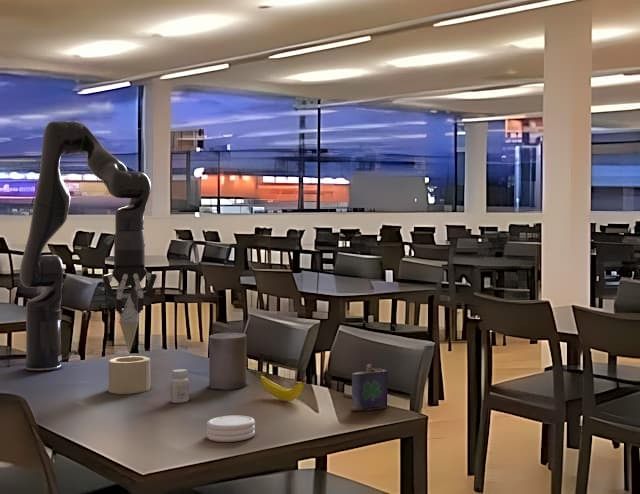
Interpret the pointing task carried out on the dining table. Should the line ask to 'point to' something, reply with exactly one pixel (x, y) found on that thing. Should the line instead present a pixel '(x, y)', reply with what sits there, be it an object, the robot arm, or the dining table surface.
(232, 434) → the coaster
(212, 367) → the pillar candle
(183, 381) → the pill bottle
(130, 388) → the hollow cream cylinder
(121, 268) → the robot arm
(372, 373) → the flask
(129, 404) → the dining table surface
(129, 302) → the grey tall pointed piece
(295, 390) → the banana
